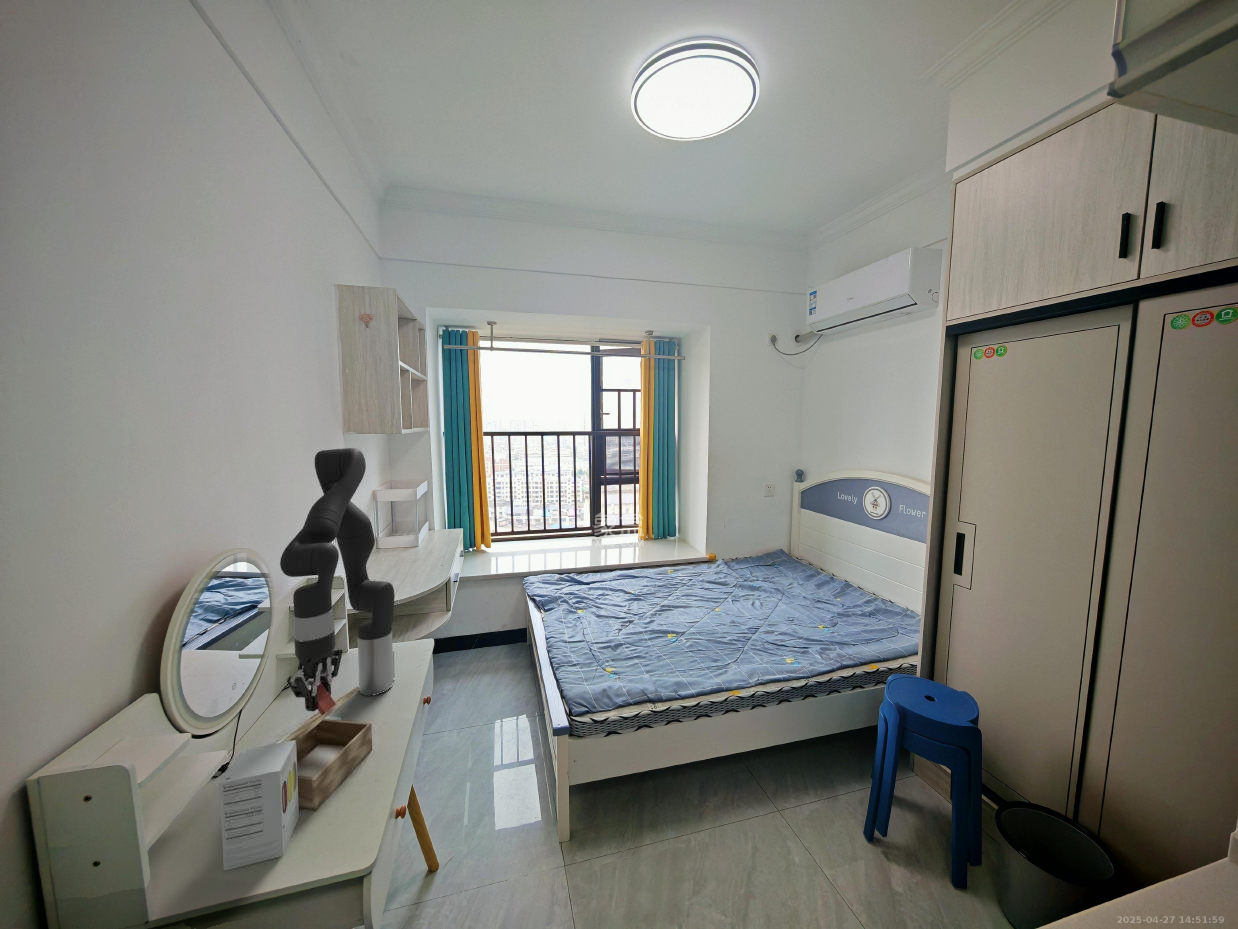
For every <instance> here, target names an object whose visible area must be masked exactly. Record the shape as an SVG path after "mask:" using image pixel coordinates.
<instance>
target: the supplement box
mask: <svg viewBox="0 0 1238 929" xmlns="http://www.w3.org/2000/svg"><path fill="white" fill-rule="evenodd" d="M218 788H219V789H218V790H219V792H218V793H219V805H220V806H219V808H220V824H221V825H220V826H221V844H222V845H221V846H222V859H223V863H222V864H223V871H224V870H226V871H228V870H229V871H230V870H234V869H237V868H241V867H244V866H248V865H253V864H257V863H260V862H264V861H269V860H272V859H277V858H280V857H283V856H284V855H285V854H284V853H285V852H286V849H287V846H288V845H289V843H290V840H291V839H292V838H291V837H292V835H293V833H294V830H295V829H296V827H297V824H298V822H299V819H300V811H299V810H300V809H299V803H298V779H297V752H296V740H293V741H286V742H281V743H278V742H276V743H272V744H266V745H261V746H257V747H251V748H245V749H242V750H241V751H240V752H239V754H238V755H237V757H236V759H235V761H234V762H233V763H232V765H231V766H230V768H229V769H228V770H227V772H226V774H225V775H224V776H223V777H222V778H221V780H220V782H219V783H218Z"/></svg>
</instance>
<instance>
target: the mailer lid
mask: <svg viewBox="0 0 1238 929" xmlns="http://www.w3.org/2000/svg"><path fill="white" fill-rule="evenodd" d="M359 689H360V688H359V685H357V686H355V687H354V688H353V689H351V690H349V691H348V692H347V693H345V694H344V695H342V696H340V698H338V699H336V700H334V699H333V697H332V696H330V694H329V693H328V692H327V690H326V689H325V687H324V686H323V684H322V683H318V684H317V692H316V694H317V700H318V701H317V702H318V709H317V710H318V712H316V713H315V714H314V715H312V716H311V717H310V718H308V719H307V720H306V721H305V722H303V723H302V724H301V725H300V727H299V726H298V727H299V728H298V727H297V728H296V730H295V729H294V730H295V731H294V730H293V731H294V732H293V731H291V732H292V733H291V732H290V733H291V734H290V733H289V734H290V735H289V734H288V735H289V736H287V735H286V736H287V737H286V736H285V737H286V738H285V737H284V738H285V739H284V740H282V739H281V740H282V741H281V742H286V741H293V740H296V741H298V740H299V739H301V738H302V737H303V736H304V735H305V734H307V733H308V732H309V731H310V730H311V729H313V728H314V727H315V726H316V725H317V724H319V723H320V722H321V721H322V720H323V719H325V718H326V717H327V716H330V714H332V713H333V712H334V711H335V710H337V708H339V707H340V706H341V705H343V703H345V702H346V701H347V700H348V699H350V697H352V696H353V695H354V694H355V693H357V692H358V691H359ZM281 742H280V743H281Z"/></svg>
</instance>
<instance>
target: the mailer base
mask: <svg viewBox="0 0 1238 929" xmlns="http://www.w3.org/2000/svg"><path fill="white" fill-rule="evenodd" d="M372 725H373V724H372V723H370V722H361V721H360V722H359V721H349V720H341V721H340V720H329V719H323V720H322V721H321V722H320V723H319V724H317V725H316V726H315V727H314V728H313V729H311V730H310V731H309V732H308V733H307V734H305V735H304V736H303V737H302V738H301V739H299V740H298V741H296V752H297V779H298V803H299V810H305V811H314V812H315V811H316V812H317V810H318V809H319V808H320V807H321V806H322V805H323V804H324V803H325V802H326V800H328V798H329V797H330V796H331V795H332V794H333V793H334V792H335V791H336V790H337V788H339V787H340V785H342V783H343V782H344V781H345V780H346V779H348V777H349V776H350V774H351V773H352V772H353V771H355V769H356V768H357V767H358V766H359V765H360V763H361V762H363V760H364V759H366V757H367V756H368V755H369V754H370V753H371V752H372V750H373V733H372V732H373V728H372Z"/></svg>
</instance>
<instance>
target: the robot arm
mask: <svg viewBox="0 0 1238 929" xmlns="http://www.w3.org/2000/svg"><path fill="white" fill-rule="evenodd" d="M366 463H367V462H366V458H365V455H364V453H363V452H362V451H361V449H359V448H355V447H354V448H353V447H346V448H345V447H344V448H334V449H333V448H332V449H325V450H324V449H322V450H319V451H317V453H316V454H315V456H314V469H315V473H316V477H317V480H318V483H319V486H320V487H321V488H320V489H321V491H322V493H323V495H322V496H321V497H319V498H318V500H316V502H314V504H313V505H312V506H311V508H310V509H309V511H308V513H307V517H306V519H305V522H304V524H303V527H302V528H301V529H300V530H299V532H297V534H296V535H295V536H294V538H292V540H290V542H289V543H288V544H287V546H286V547H285V548H284V550H283V552H282V555H281V557H280V562H279V565H280V569H281V571H282V573H283V574H284V575H285V576H287V577H290V578H291V577H292V578H298V577H309V576H310V577H312V576H313V577H314V576H317V581H316V582H312V583H309V584H305V585H303V586H300V587H298V588H296V589H295V590H294V592H293V596H292V598H293V599H292V602H293V613H294V614H293V617H294V618H293V640H294V642H293V643H294V655H295V657H296V658H297V659H298V666H297V672H295V674H294V675H293V676H291V675H290V676H288V677H287V680H286V682H287V684H288V685H289V688H290V689H291V691H292V693H293V695H294V696H295V698H302V699H303V698H304V704H305V705H304V707H305V710H306V711H307V712H315V711H317V710H318V702H317V701H318V700H317V694H316V692H317V685H319V684H320V683H322V684H323V686H324V687H325V689H326V690H327V692H328V693H329V694H330V696H331V695H332V683H333V679H334V678H336V677H337V676H338V674H339V669H340V666H341V661H342V655H343V649H341V648H339V649H338V648H336V632H335V631H336V630H335V618H334V616H335V615H334V611H333V602H332V601H333V600H332V597H333V596H332V590H333V582H334V577H335V574H336V569H337V567H338V564H339V557H340V556H341V560H342V565H343V569H344V572H345V580H346V586H347V587H346V588H347V594H348V601H349V604H350V607H351V608H352V609H353V611H355V612H359V613H368V614H369V613H372V614H371V619H369V620H367V621H364V622H362V623H361V624H360V625H359V626H358V627H357V653H358V654H357V655H358V660H357V661H358V683H359V685H358V686H359V688H360V689H359V690H358V691H360V692H359V693H360V695H362V694H363V695H362V696H366V695H372V696H374V695H373V694H377V693H380V692H383V691H385V690H387V689H388V688H389V687H390V686H391V685H392V683H393V684H394V681H393V678H394V677H395V676H396V675H395V651H394V650H393V648H394V646H393V623H394V618H395V588H394V586H393V584H392V583H391V582H388V581H380V580H371V579H370V578H369V575H368V570H367V564H368V560H369V559H370V556H371V554H372V552H373V550H374V547H375V544H376V538H375V533H374V528H373V525H372V521H371V519H370V518H369V516H368V515H367V514H366V513H365V512H364V511H363V510H362V509H361V508H359V507H358V506H357V505H356V504H355V503H354V502H353V501H352V498H353V496H354V495H355V494H356V492H357V489H358V487H359V486H360V484H361V483H362V480H364V479H363V478H364V476H365V473H366V468H367V466H366V465H367V464H366ZM335 539H336V542H337V546H338V548H337V547H336V545H334V544H333V543H332V542H333V541H334V540H335ZM338 549H339V550H338ZM339 552H340V553H339ZM395 678H396V677H395ZM387 691H388V690H387ZM383 693H384V692H383ZM331 697H332V696H331Z"/></svg>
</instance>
